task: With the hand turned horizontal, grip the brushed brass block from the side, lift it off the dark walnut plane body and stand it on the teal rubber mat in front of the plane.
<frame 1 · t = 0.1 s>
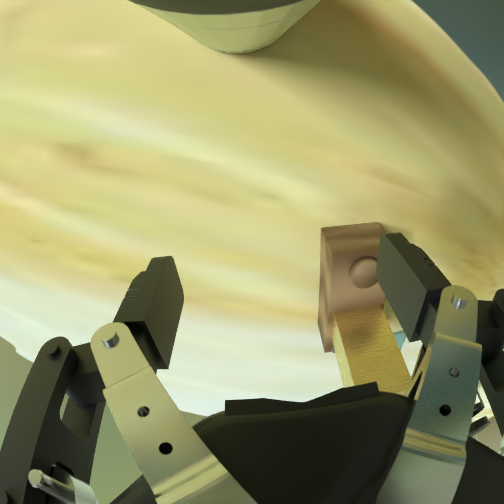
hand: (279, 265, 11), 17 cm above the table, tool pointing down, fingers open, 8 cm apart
mat: (380, 349, 44), on the table
french press: (453, 377, 56), on the table
plane body: (345, 278, 34), on the table
brushed brass block: (355, 320, 31), point 5 cm above the table, touching plane body
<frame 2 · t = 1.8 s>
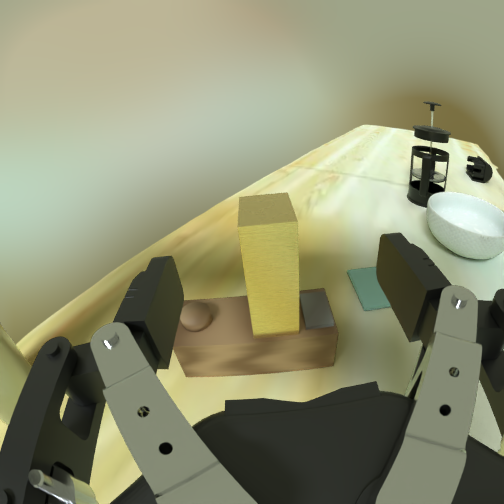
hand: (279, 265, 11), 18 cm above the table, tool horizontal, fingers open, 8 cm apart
mat: (382, 286, 36), on the table
cereal bowl: (463, 247, 42), on the table
french press: (425, 201, 59), on the table
plane body: (258, 349, 30), on the table
brushed brass block: (274, 315, 28), point 5 cm above the table, touching plane body
end cap: (477, 179, 72), on the table
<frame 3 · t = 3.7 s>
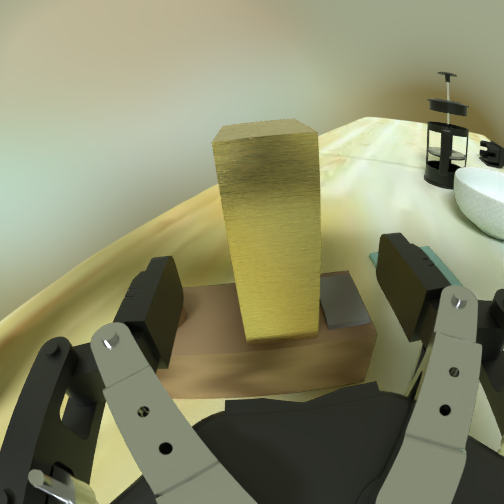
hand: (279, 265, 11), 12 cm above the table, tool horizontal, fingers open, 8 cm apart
mat: (415, 272, 27), on the table
cereal bowl: (495, 229, 33), on the table
french press: (443, 183, 49), on the table
plane body: (255, 360, 21), on the table
brushed brass block: (278, 309, 18), point 5 cm above the table, touching plane body
end cap: (492, 164, 63), on the table
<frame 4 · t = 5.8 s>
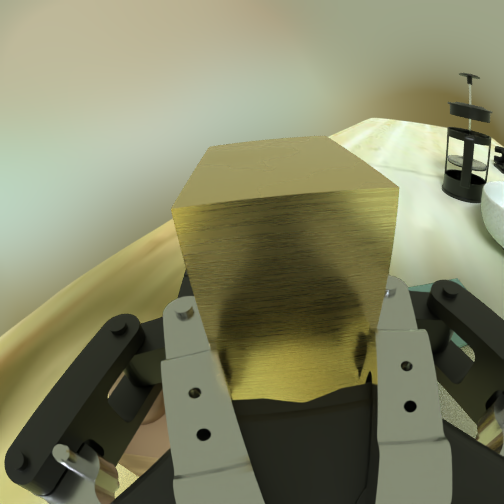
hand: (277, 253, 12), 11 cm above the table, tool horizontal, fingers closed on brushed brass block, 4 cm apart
mat: (445, 314, 22), on the table
french press: (463, 195, 44), on the table
plane body: (258, 437, 15), on the table
brushed brass block: (289, 397, 13), point 5 cm above the table, touching gripper, plane body
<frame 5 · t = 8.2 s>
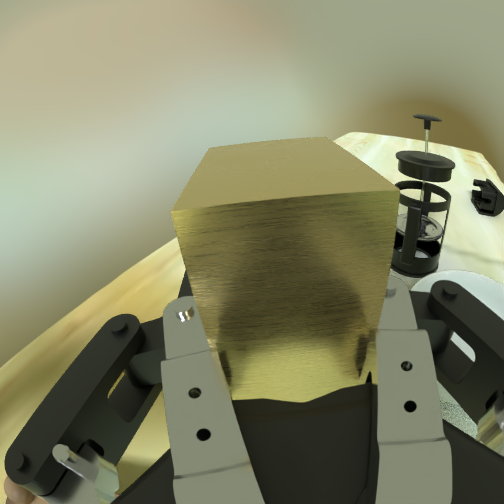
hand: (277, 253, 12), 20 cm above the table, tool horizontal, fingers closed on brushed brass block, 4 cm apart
cereal bowl: (454, 363, 25), on the table
french press: (410, 263, 42), on the table
brushed brass block: (289, 399, 13), point 13 cm above the table, touching gripper
end cap: (485, 209, 55), on the table
when the fingers open (8 cm above the table, at t = 10.7 s): brushed brass block drops 2 cm, resting on mat.
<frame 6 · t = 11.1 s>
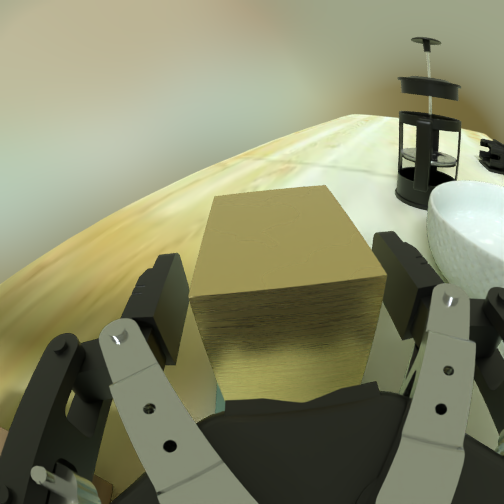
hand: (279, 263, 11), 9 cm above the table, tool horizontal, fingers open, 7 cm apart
cereal bowl: (495, 289, 19), on the table
french press: (424, 200, 36), on the table
plane body: (13, 491, 8), on the table
brushed brass block: (288, 415, 14), resting on mat
end cap: (495, 169, 49), on the table
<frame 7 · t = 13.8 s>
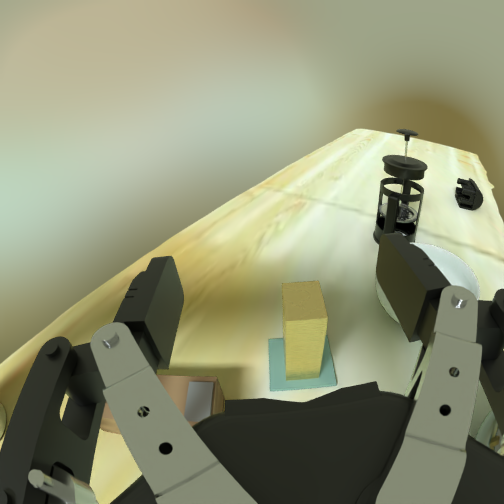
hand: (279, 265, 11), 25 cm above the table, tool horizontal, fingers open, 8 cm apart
mat: (300, 362, 35), on the table
piggy bank: (487, 464, 17), on the table
cereal bowl: (419, 309, 40), on the table
french press: (393, 240, 57), on the table
plane body: (161, 417, 30), on the table
brushed brass block: (300, 361, 35), resting on mat
end cap: (466, 204, 69), on the table
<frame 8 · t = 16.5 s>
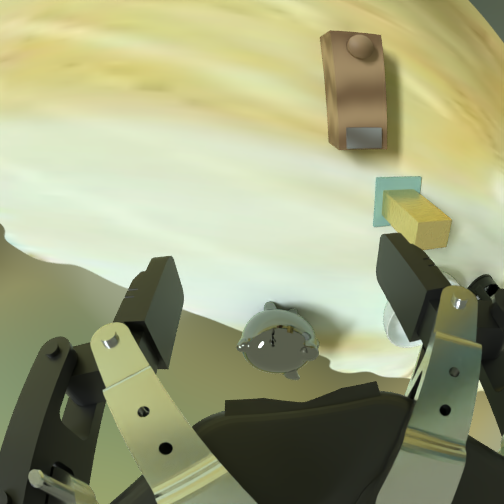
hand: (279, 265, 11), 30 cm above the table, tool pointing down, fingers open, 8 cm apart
mat: (397, 201, 42), on the table
piggy bank: (277, 317, 54), on the table
cereal bowl: (412, 293, 52), on the table
french press: (477, 289, 52), on the table
plane body: (348, 89, 33), on the table
brushed brass block: (397, 201, 41), resting on mat
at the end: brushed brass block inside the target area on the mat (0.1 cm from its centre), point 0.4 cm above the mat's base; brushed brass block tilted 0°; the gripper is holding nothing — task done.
